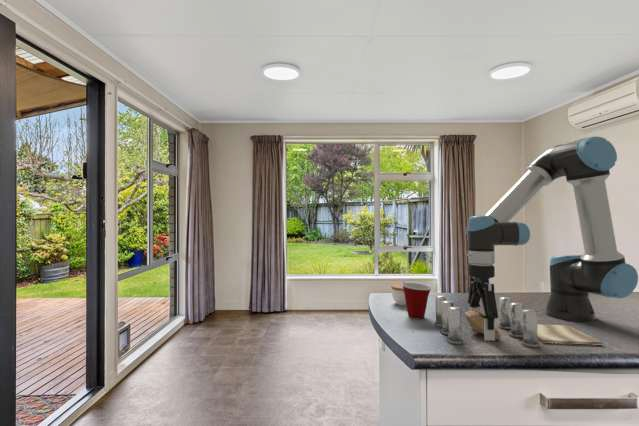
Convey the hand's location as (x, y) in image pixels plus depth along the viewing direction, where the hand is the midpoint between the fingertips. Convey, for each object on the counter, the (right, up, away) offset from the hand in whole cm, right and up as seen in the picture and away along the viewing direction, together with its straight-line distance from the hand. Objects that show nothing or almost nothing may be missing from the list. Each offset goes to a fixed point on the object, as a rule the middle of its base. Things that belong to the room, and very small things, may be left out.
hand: (481, 333), depth 106 cm
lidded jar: (-15, -2, +40) cm, 43 cm away
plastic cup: (-15, -1, +20) cm, 25 cm away
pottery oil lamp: (0, -1, 0) cm, 1 cm away
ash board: (+23, 0, 0) cm, 23 cm away
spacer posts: (0, 0, 0) cm, 0 cm away
